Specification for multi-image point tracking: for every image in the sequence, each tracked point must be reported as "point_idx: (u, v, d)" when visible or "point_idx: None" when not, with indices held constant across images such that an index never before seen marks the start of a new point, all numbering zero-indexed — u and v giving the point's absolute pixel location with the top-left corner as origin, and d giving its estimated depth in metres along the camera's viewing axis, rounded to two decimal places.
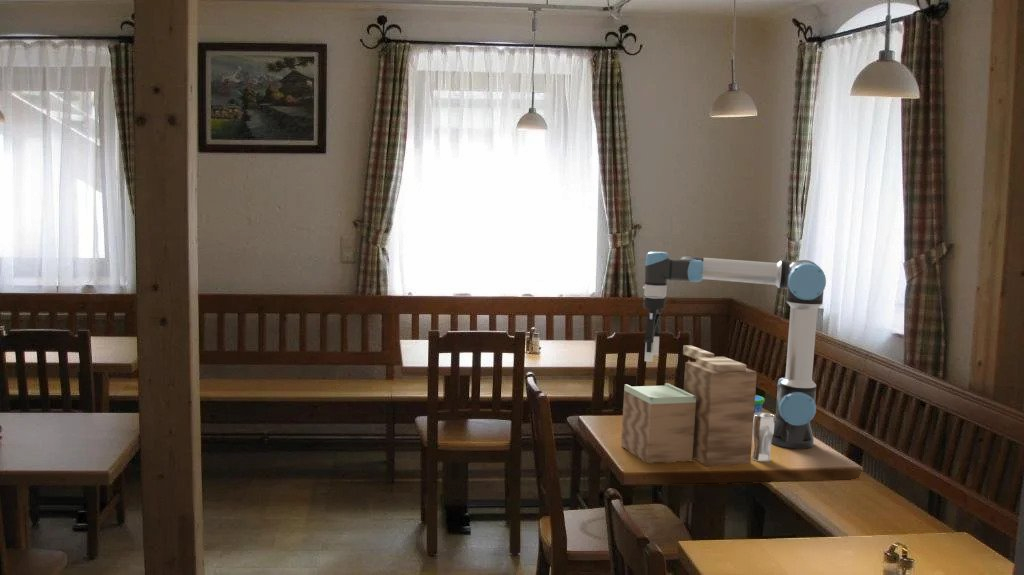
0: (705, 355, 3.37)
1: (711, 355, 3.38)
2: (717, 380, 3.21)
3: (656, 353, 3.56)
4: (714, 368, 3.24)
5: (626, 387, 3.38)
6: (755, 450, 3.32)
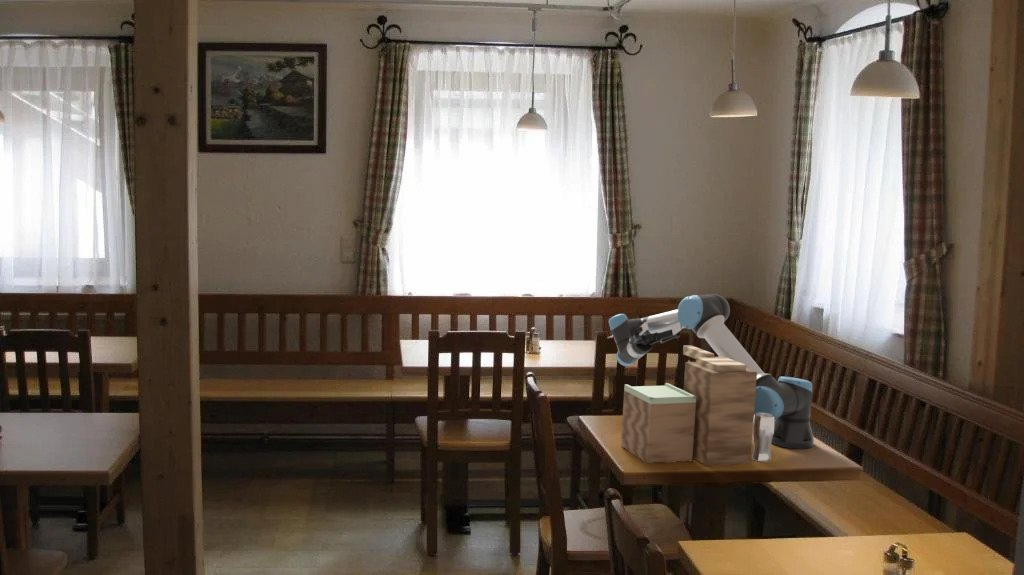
0: (705, 355, 3.37)
1: (711, 355, 3.38)
2: (717, 380, 3.21)
3: (678, 323, 3.69)
4: (714, 368, 3.24)
5: (626, 387, 3.38)
6: (755, 450, 3.32)
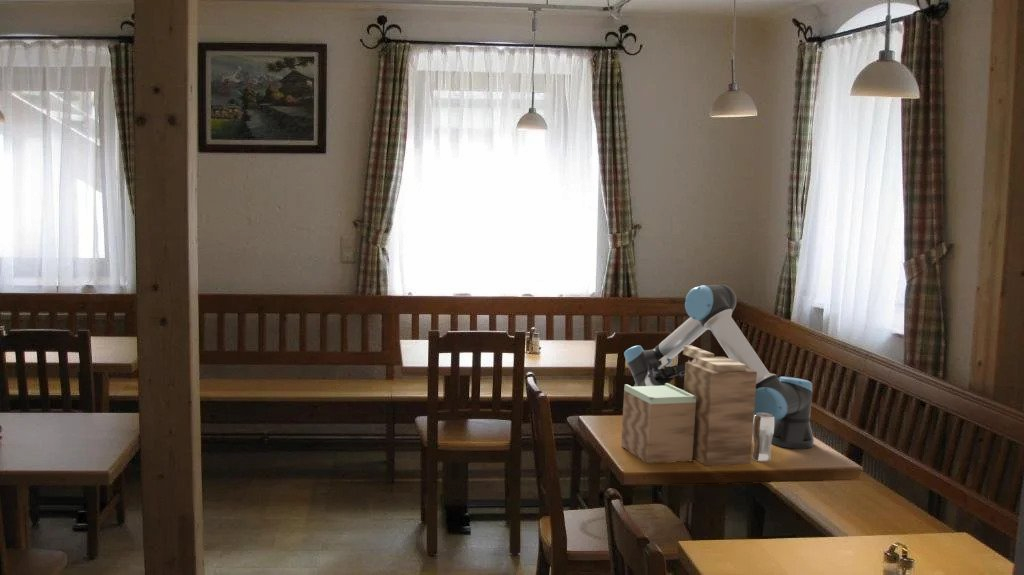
0: (705, 355, 3.37)
1: (711, 355, 3.38)
2: (717, 380, 3.21)
3: None
4: (714, 368, 3.24)
5: (626, 387, 3.38)
6: (755, 450, 3.32)
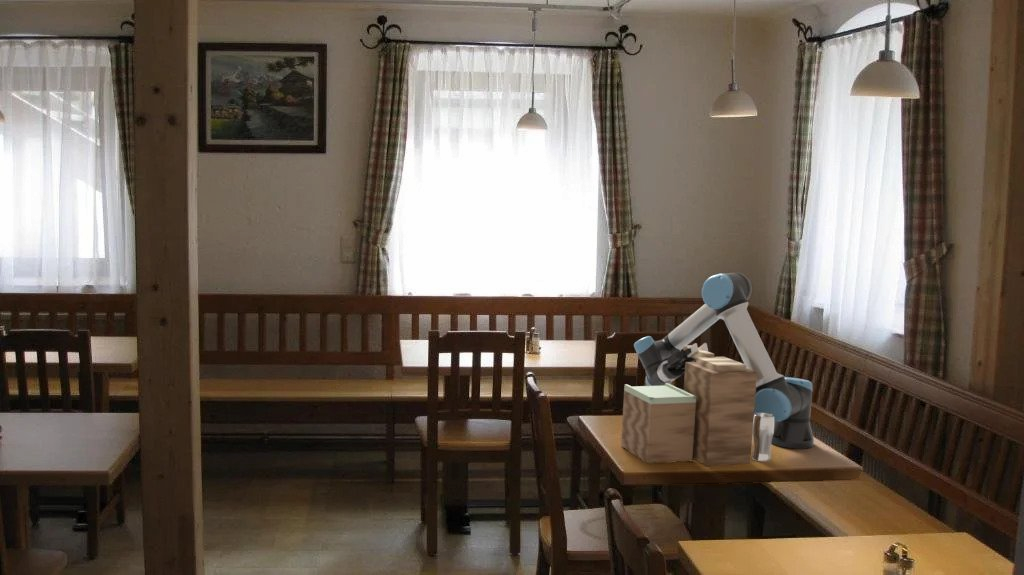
0: (705, 355, 3.37)
1: (711, 355, 3.38)
2: (717, 380, 3.21)
3: (704, 345, 3.44)
4: (714, 368, 3.24)
5: (626, 387, 3.38)
6: (755, 450, 3.32)
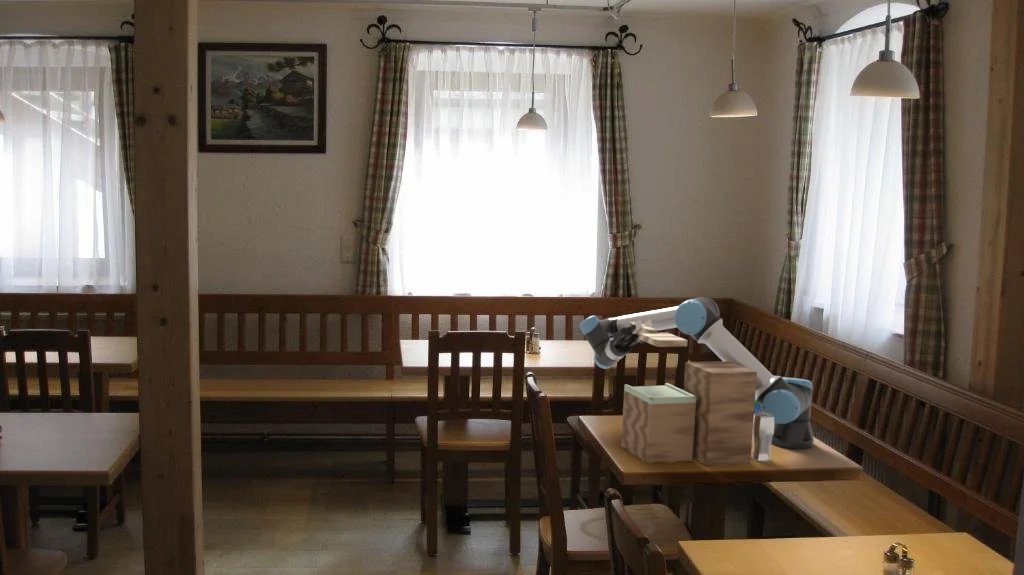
0: (648, 331, 3.38)
1: (654, 331, 3.38)
2: (717, 380, 3.21)
3: (648, 321, 3.44)
4: (655, 343, 3.24)
5: (626, 387, 3.38)
6: (755, 450, 3.32)
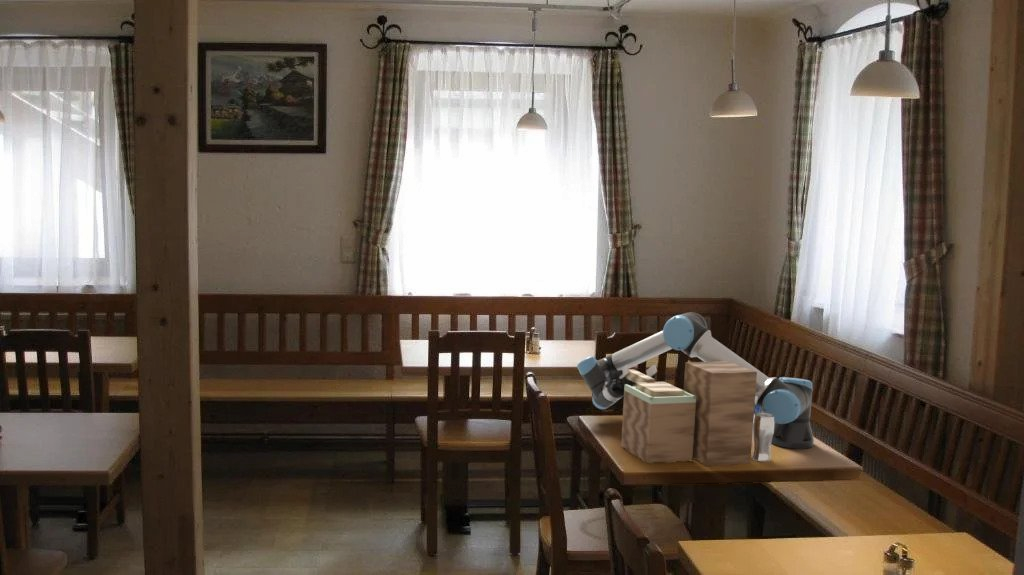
0: (645, 380, 3.39)
1: (651, 380, 3.40)
2: (717, 380, 3.21)
3: (653, 366, 3.48)
4: (652, 394, 3.26)
5: (626, 387, 3.38)
6: (755, 450, 3.32)
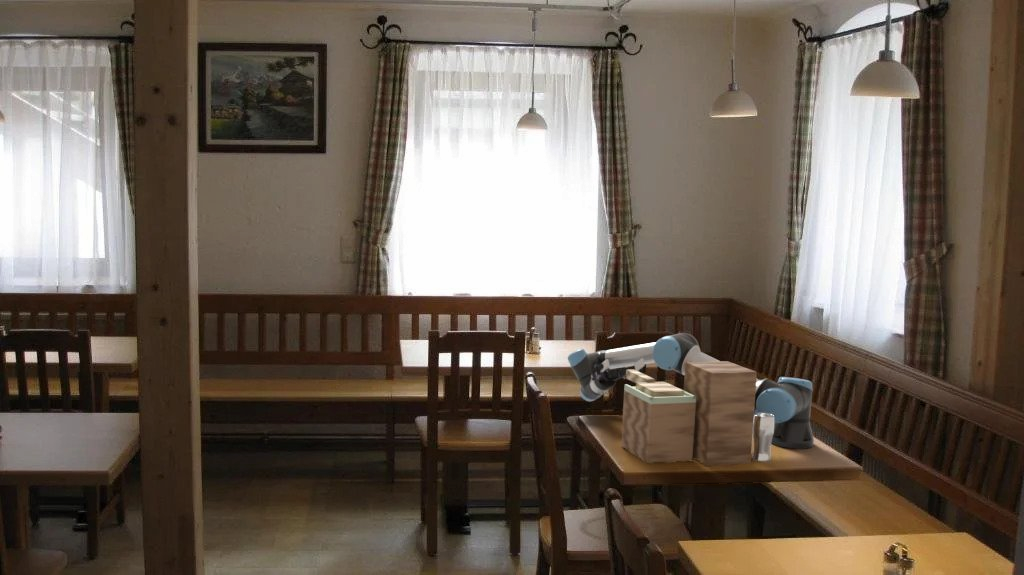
0: (645, 380, 3.39)
1: (651, 380, 3.40)
2: (717, 380, 3.21)
3: (641, 360, 3.61)
4: (652, 394, 3.26)
5: (626, 387, 3.38)
6: (755, 450, 3.32)
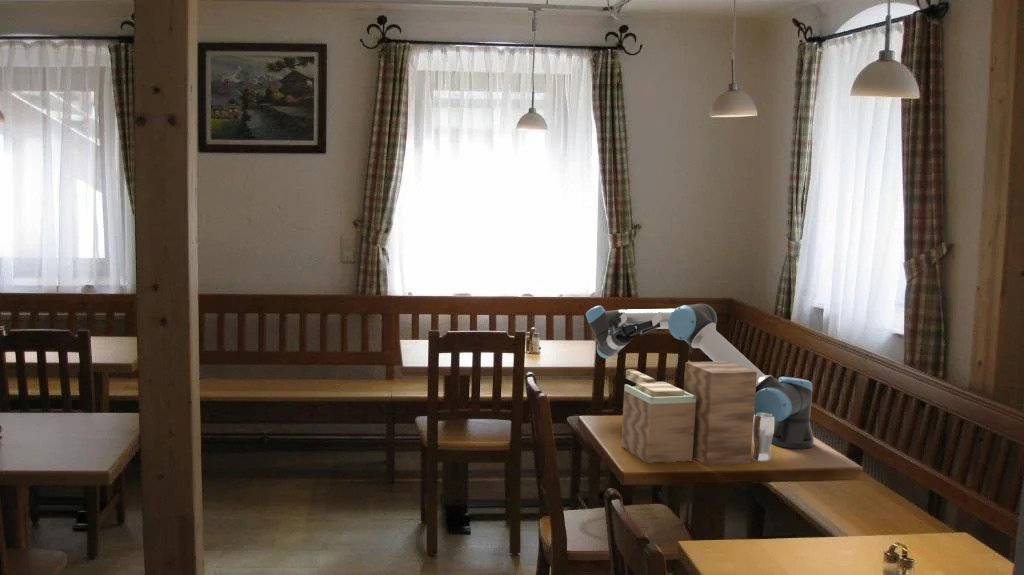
0: (645, 380, 3.39)
1: (651, 380, 3.40)
2: (717, 380, 3.21)
3: (658, 314, 3.62)
4: (652, 394, 3.26)
5: (626, 387, 3.38)
6: (755, 450, 3.32)
